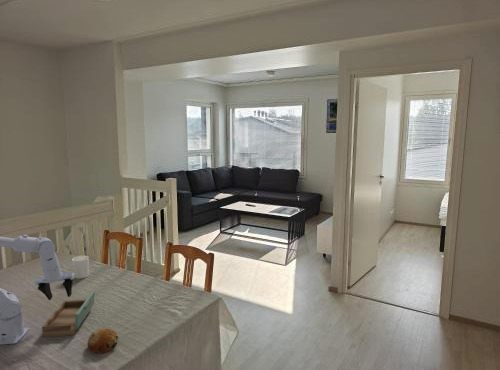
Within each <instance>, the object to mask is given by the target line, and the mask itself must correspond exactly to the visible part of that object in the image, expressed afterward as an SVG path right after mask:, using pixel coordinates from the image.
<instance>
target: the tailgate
mask: <svg viewBox="0 0 500 370" xmlns="http://www.w3.org/2000/svg"><path fill="white" fill-rule="evenodd" d="M95 293H96V291H91V292H90V294H89V295H88V297H87V298H86V299H85V300H86V301H85V302H84V303H83V305H82V306H81V308H80V309H79V310H78V312H77V313H76V314H75V329H77V330H78V329H79V328H78V327H80V326H81V325H80V324H82V323H83V322H82V321H84V320H85V319H86V317H87V316H88V315H89V313H90V311H91V310H92V308H93V307H94V304H95ZM90 309H91V310H90ZM88 312H89V313H88ZM86 315H87V316H86ZM84 318H85V319H84Z"/></svg>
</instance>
